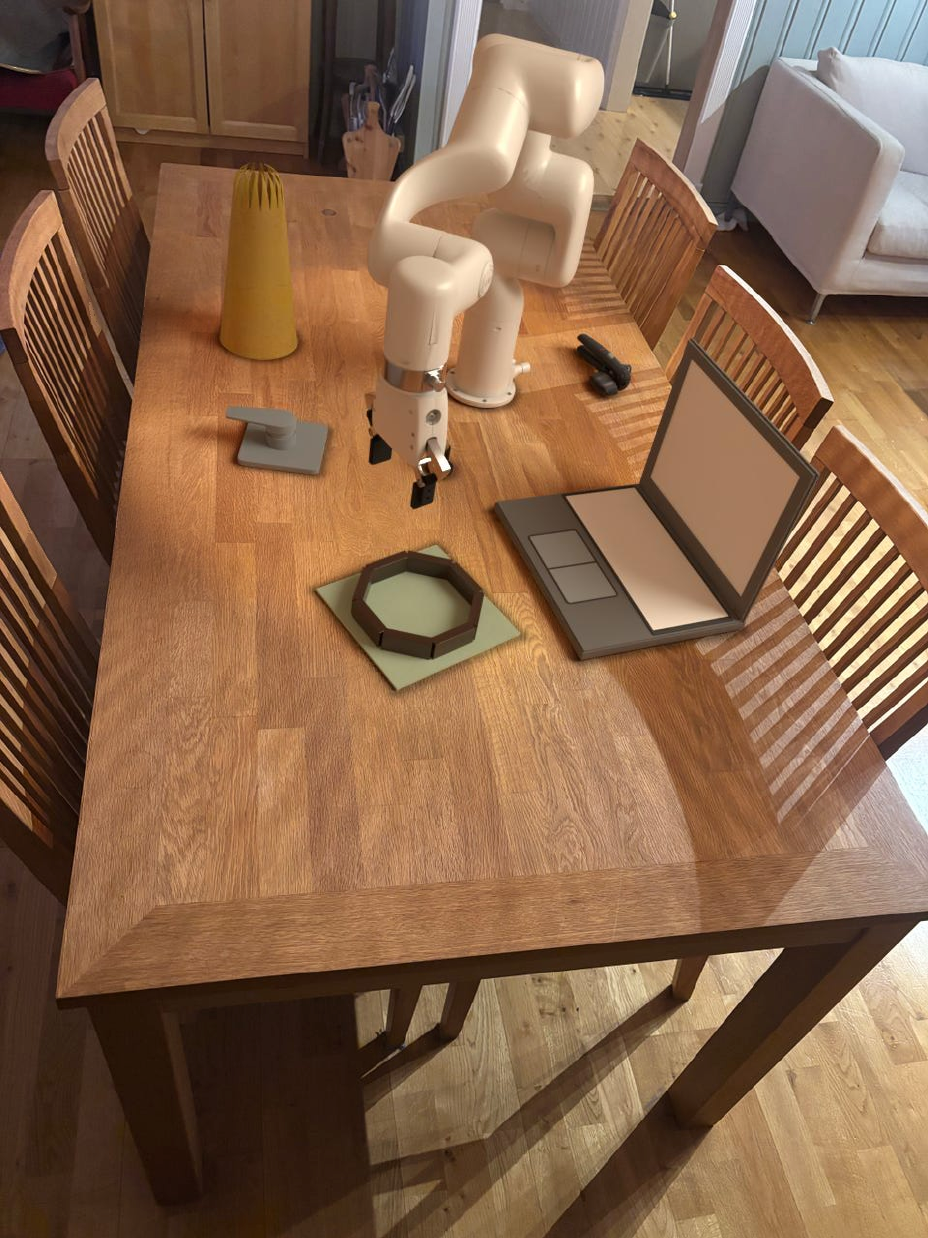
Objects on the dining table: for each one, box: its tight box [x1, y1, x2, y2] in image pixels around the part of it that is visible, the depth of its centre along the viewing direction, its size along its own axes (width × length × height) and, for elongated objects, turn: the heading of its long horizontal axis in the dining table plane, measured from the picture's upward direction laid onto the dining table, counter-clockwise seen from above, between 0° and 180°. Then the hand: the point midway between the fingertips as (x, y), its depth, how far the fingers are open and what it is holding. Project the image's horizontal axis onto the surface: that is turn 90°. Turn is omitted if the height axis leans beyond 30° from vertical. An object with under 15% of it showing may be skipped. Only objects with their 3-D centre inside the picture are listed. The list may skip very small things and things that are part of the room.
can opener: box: [576, 333, 633, 397], centre depth 179 cm, size 18×7×6 cm, turn 20°
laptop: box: [493, 337, 821, 661], centre depth 133 cm, size 32×26×28 cm
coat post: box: [425, 439, 454, 478], centre depth 152 cm, size 4×4×6 cm
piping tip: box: [219, 162, 299, 361], centre depth 162 cm, size 14×14×30 cm
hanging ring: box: [351, 549, 485, 660], centre depth 130 cm, size 17×17×3 cm
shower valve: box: [225, 405, 329, 476], centre depth 150 cm, size 12×6×15 cm
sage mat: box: [315, 544, 521, 691], centre depth 131 cm, size 20×20×1 cm
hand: (400, 482), depth 124 cm, fingers open, 9 cm apart
